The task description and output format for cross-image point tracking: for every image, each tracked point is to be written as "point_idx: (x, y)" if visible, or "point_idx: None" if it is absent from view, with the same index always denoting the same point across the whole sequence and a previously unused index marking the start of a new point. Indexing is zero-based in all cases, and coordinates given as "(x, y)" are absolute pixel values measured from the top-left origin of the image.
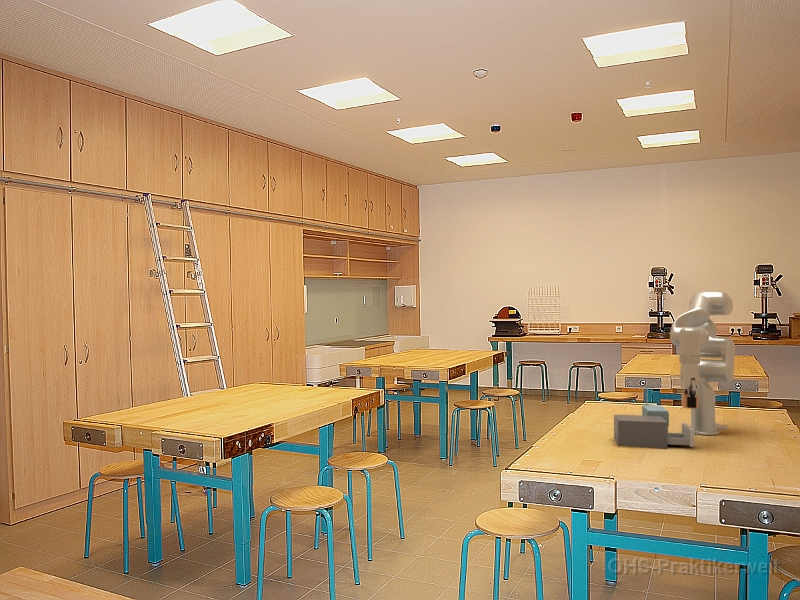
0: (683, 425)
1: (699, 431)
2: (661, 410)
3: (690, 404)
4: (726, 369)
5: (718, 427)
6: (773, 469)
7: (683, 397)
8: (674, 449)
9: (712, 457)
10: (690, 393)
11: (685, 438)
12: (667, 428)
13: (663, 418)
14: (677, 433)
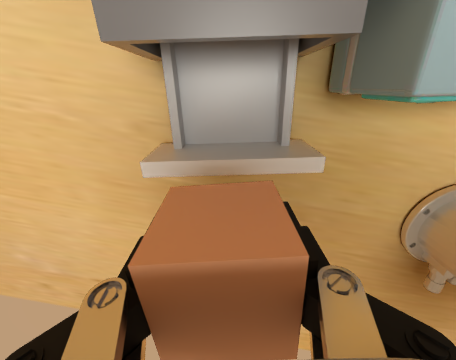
0: (288, 155)
1: (430, 214)
2: (440, 43)
3: (139, 240)
4: None
5: (432, 269)
6: (15, 274)
7: (195, 236)
8: (150, 87)
9: (76, 182)
10: (57, 343)
11: (178, 136)
12: (347, 89)
13: (383, 64)
14: (283, 123)
